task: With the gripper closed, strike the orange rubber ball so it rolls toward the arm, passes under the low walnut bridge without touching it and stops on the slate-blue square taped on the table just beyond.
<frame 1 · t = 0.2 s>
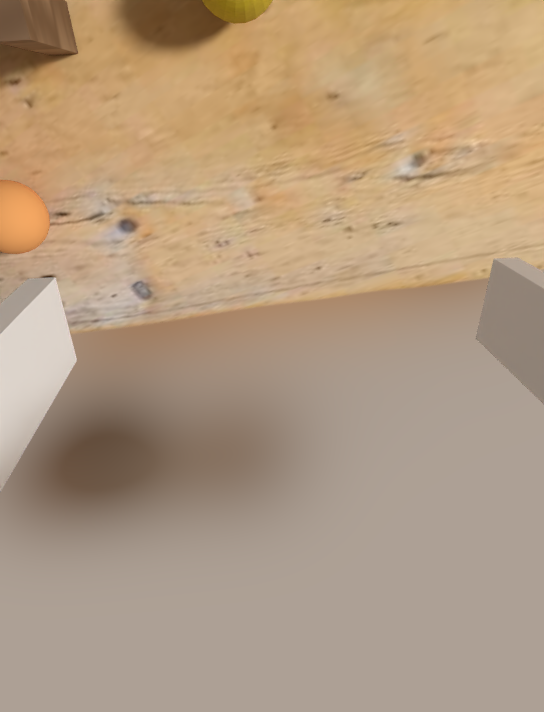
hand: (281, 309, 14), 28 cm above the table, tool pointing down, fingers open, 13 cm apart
ball: (10, 217, 36), on the table
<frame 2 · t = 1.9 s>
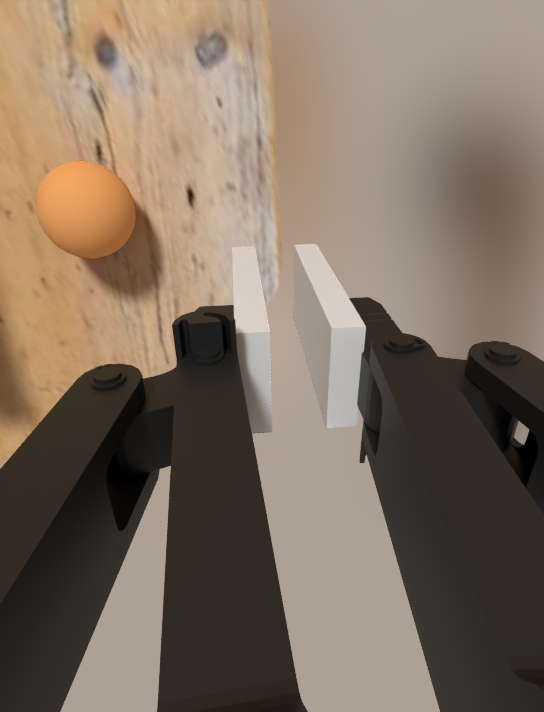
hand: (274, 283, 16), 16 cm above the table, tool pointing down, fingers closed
ball: (87, 211, 27), on the table
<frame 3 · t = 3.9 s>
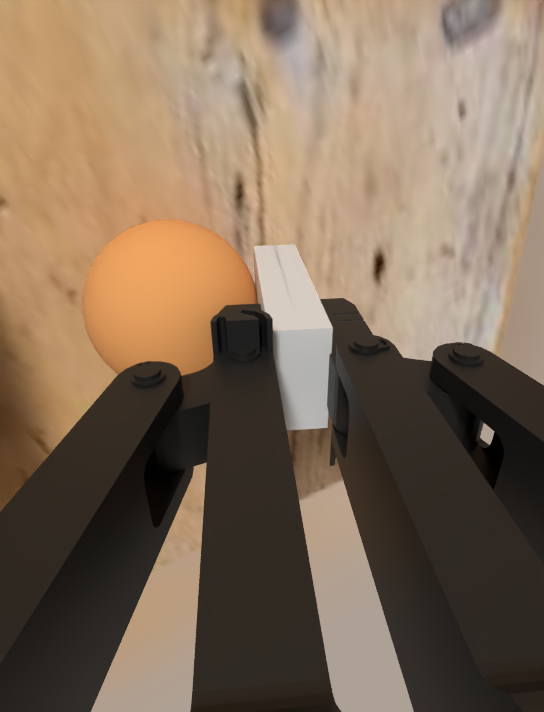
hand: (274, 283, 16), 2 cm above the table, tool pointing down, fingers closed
ball: (173, 307, 15), on the table, touching gripper
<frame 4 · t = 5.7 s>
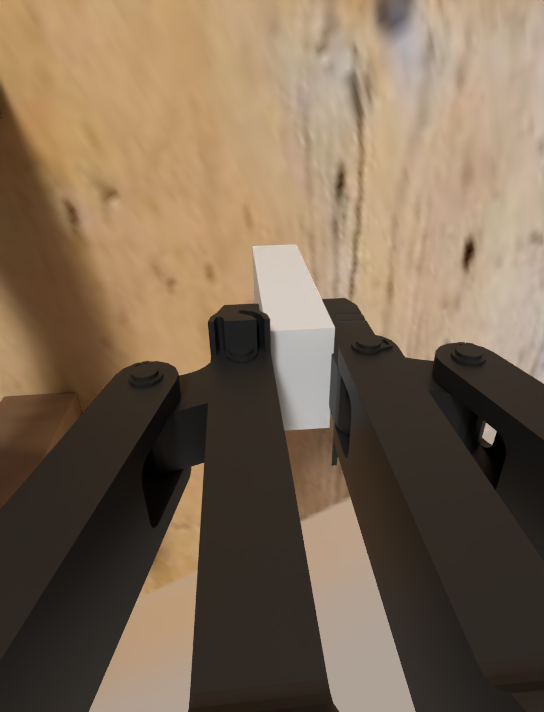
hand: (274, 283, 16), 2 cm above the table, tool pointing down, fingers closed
bridge: (3, 277, 17), on the table
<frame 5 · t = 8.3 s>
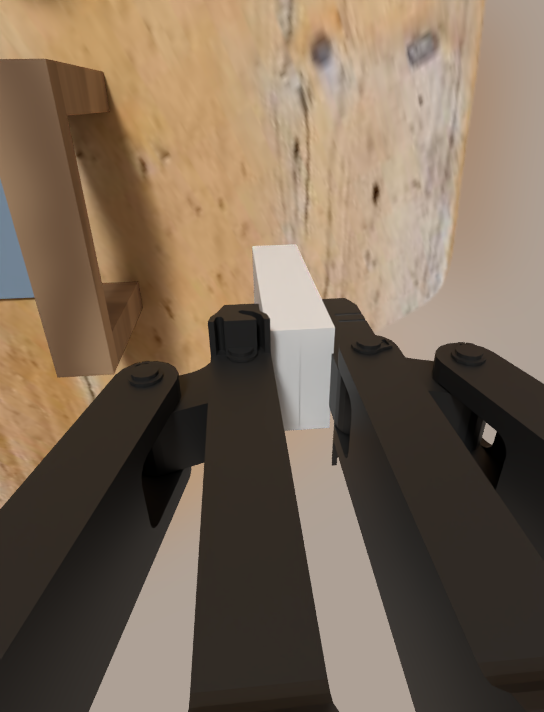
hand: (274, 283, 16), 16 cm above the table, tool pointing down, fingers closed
bridge: (101, 204, 29), on the table
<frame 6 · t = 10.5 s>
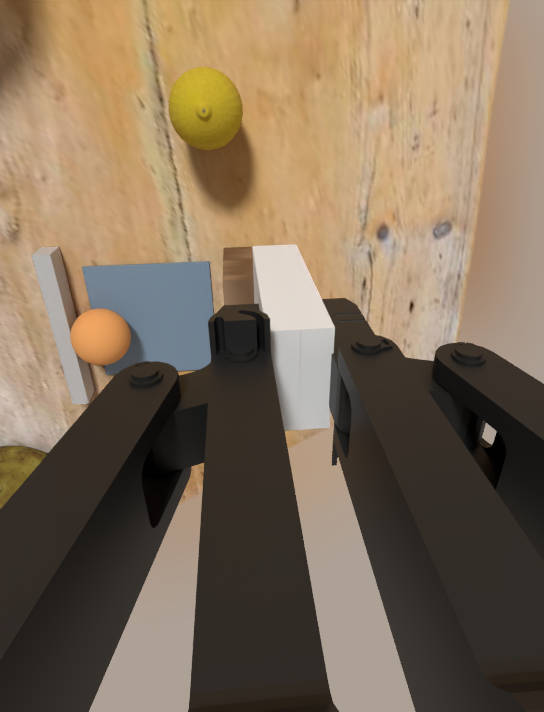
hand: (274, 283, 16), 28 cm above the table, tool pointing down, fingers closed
bridge: (242, 316, 48), on the table
potato: (40, 463, 55), on the table
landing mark: (155, 320, 47), on the table
stopper: (70, 324, 46), on the table
ball: (101, 336, 44), on the table
lemon: (208, 108, 38), on the table
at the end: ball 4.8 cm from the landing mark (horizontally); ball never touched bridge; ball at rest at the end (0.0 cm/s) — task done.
